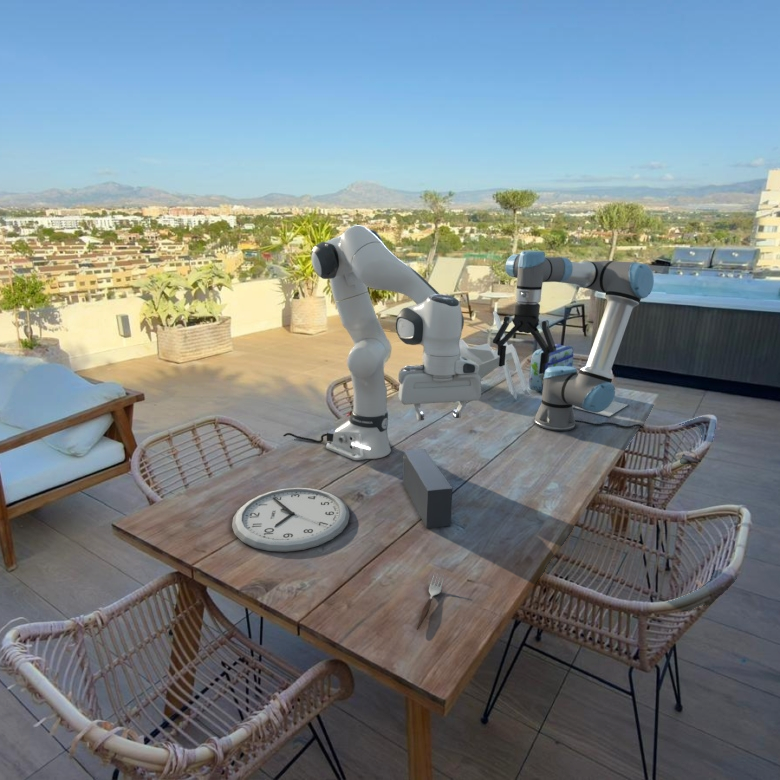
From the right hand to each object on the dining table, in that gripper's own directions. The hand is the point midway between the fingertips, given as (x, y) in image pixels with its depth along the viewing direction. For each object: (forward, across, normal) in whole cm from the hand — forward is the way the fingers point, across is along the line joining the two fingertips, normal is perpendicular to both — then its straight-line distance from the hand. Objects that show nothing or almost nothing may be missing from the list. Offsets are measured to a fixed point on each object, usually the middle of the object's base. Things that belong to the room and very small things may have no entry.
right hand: (521, 369), depth 167 cm
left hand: (+2, 0, -51) cm, 51 cm away
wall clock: (+30, -29, -74) cm, 85 cm away
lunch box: (+30, -18, +82) cm, 90 cm away
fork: (+30, +17, -79) cm, 87 cm away
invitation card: (+30, +9, +72) cm, 78 cm away
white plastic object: (+30, -42, +56) cm, 76 cm away
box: (+30, -6, -45) cm, 55 cm away
